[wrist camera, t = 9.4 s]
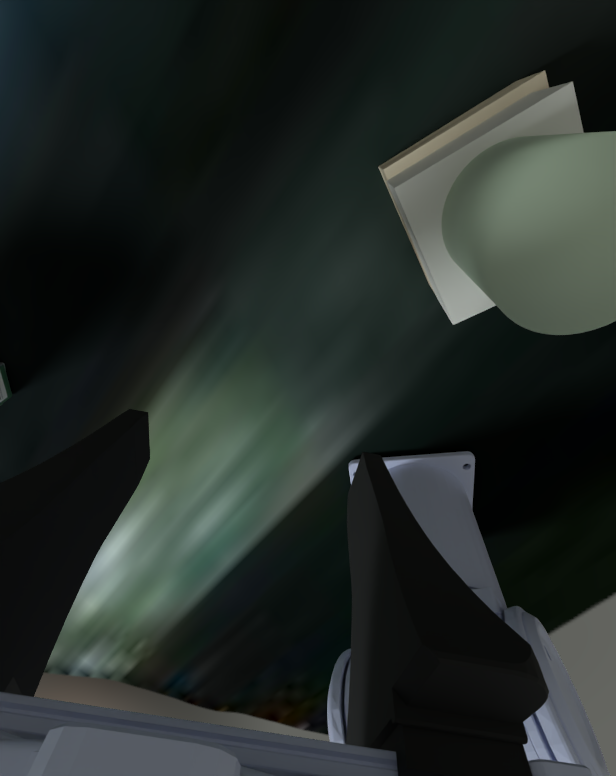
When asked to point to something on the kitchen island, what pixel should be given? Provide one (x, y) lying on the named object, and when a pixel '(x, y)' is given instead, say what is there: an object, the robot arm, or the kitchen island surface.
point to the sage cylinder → (540, 229)
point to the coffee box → (4, 385)
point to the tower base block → (460, 130)
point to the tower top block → (441, 168)
